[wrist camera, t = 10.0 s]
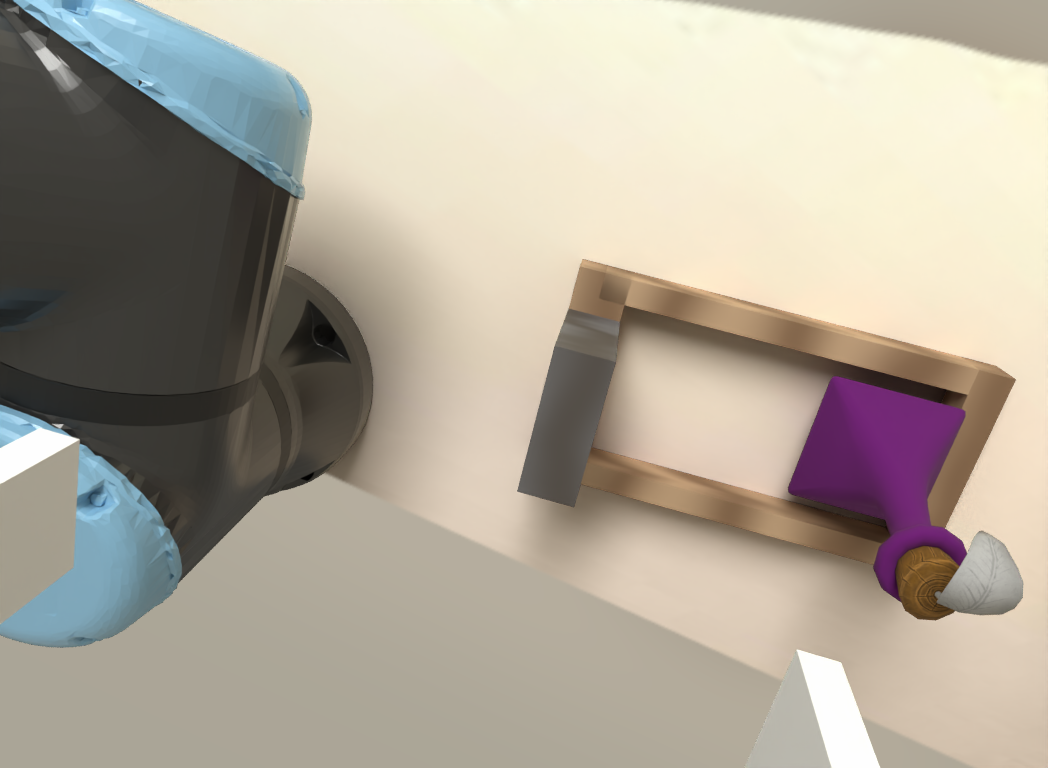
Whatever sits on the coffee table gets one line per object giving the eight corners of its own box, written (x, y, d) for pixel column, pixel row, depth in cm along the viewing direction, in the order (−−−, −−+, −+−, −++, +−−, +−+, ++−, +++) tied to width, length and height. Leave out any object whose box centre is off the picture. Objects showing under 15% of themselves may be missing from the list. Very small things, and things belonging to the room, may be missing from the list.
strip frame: (532, 453, 51) (506, 533, 41) (582, 259, 46) (567, 295, 36) (907, 556, 49) (974, 664, 39) (996, 366, 45) (1096, 434, 35)
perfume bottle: (896, 502, 48) (1034, 705, 31) (777, 469, 49) (850, 653, 32) (945, 391, 46) (1125, 548, 29) (819, 358, 46) (924, 493, 29)
